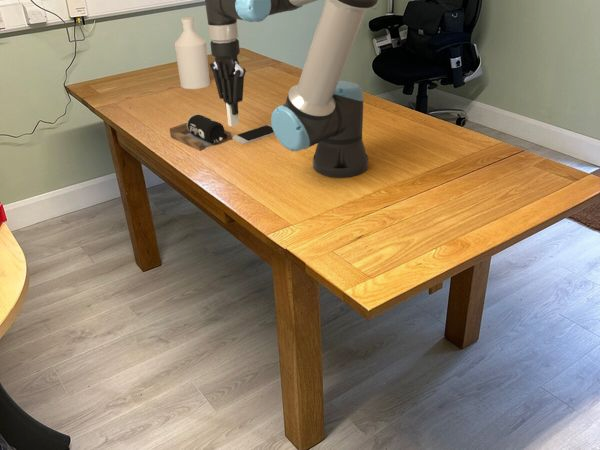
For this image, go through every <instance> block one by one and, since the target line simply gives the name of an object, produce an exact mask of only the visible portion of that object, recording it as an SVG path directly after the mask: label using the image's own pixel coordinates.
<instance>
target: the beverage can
mask: <svg viewBox="0 0 600 450" xmlns="http://www.w3.org/2000/svg"><path fill="white" fill-rule="evenodd" d="M186 123H187V128H188V130H189V131H190V133H191V134H193V135H195V136H197V137H199V138H201V139H203V140H205V141H207V142H209V143H212V144H213V145H216V144H218V143H221V142H222V141H221V140H222V138H223V137H224V130H225V127H224V126H223V124H222V123H221V122H218V121H216V120H213V119H211V118H210V117H206V116H205V115H202V114H194V115H190V117H189V118H188V120H187V121H186ZM220 141H221V142H220Z"/></svg>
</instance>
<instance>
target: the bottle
mask: <svg viewBox="0 0 600 450" xmlns="http://www.w3.org/2000/svg"><path fill="white" fill-rule="evenodd" d="M180 23H181V24H182V29H183V31H182V32H181V34H180V35H179V36H178V38H177V39H176V40H175V42H174V45H173V46H174V50H175V57H176V64H177V70H178V76H179V82H180V87H181V88H182V89H186V90H198V89H202V88H206V87H208V86H210V84H211V81H210V69H209V68H210V67H209V60H208V51H207V50H208V49H207V41H206V39H205V38H204V37H201V36H200V35H199V34H198V33H197V32H196V31H195V29H194V28H195V27H194V17H193V16H192V17H191V16H185V17H181V18H180Z"/></svg>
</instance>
